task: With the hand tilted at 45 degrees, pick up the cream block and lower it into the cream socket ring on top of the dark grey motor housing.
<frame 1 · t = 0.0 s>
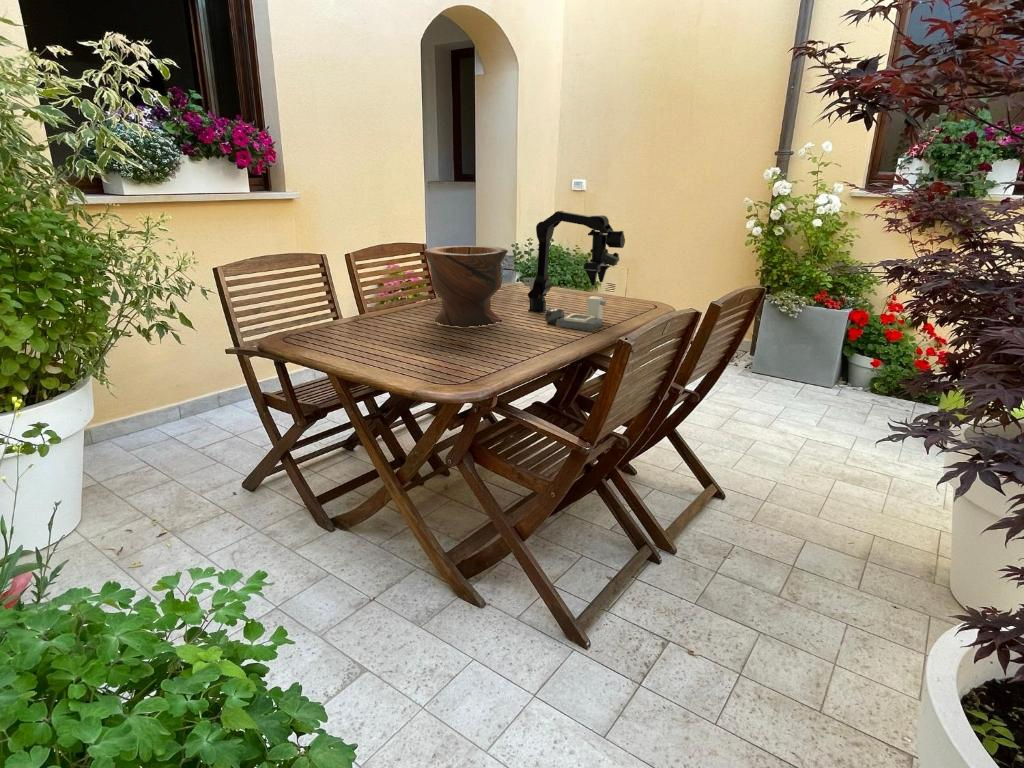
hand: (597, 283, 260), 15 cm above the table, tool pointing down, fingers open, 9 cm apart
mechanical component: (532, 298, 305), on the table
wooden planter: (467, 320, 260), on the table
motor housing: (579, 326, 250), on the table
cream block: (594, 321, 259), on the table
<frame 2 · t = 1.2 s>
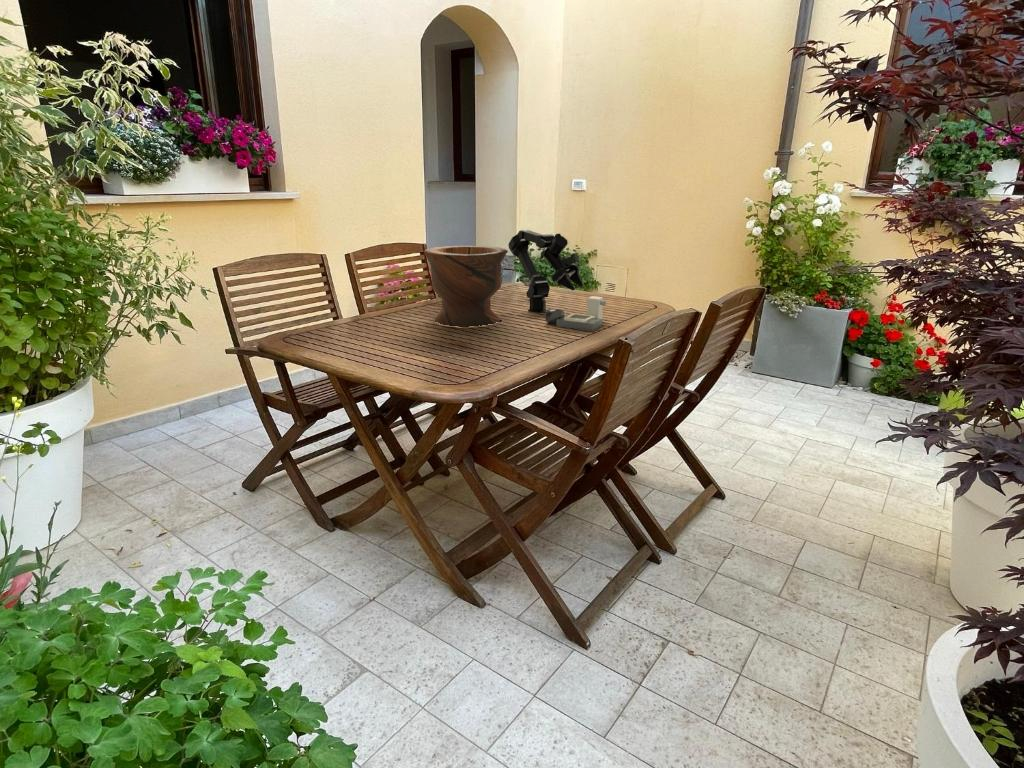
hand: (578, 288, 258), 13 cm above the table, tool tilted 45°, fingers open, 9 cm apart
nothing on the table moved.
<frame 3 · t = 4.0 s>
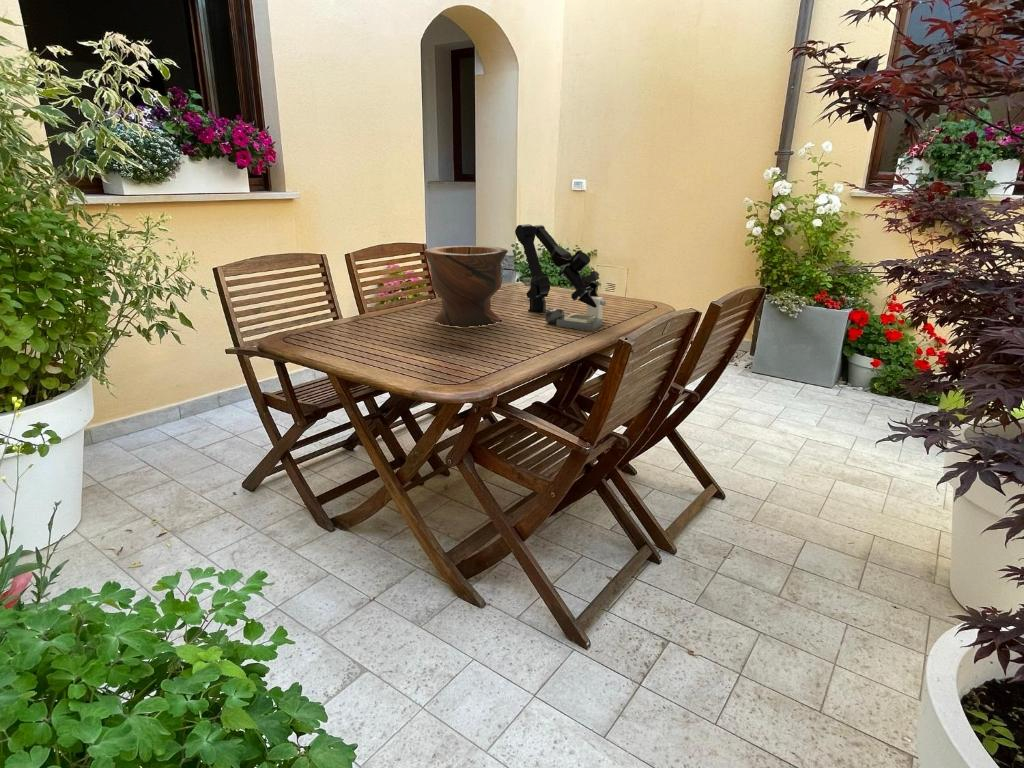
hand: (598, 305, 256), 7 cm above the table, tool tilted 45°, fingers closed on cream block, 5 cm apart
cream block: (594, 320, 259), on the table, touching gripper
everything else where it was.
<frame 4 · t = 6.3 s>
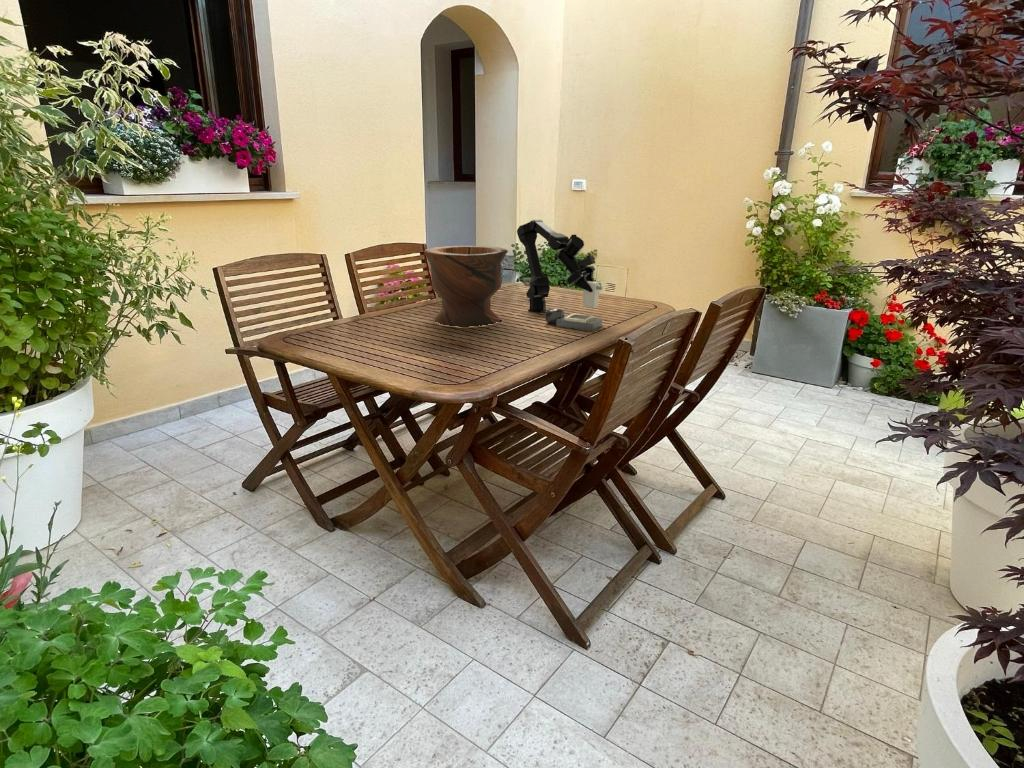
hand: (594, 290, 251), 14 cm above the table, tool tilted 45°, fingers closed on cream block, 5 cm apart
cream block: (590, 306, 254), point 7 cm above the table, touching gripper
everything else where it was.
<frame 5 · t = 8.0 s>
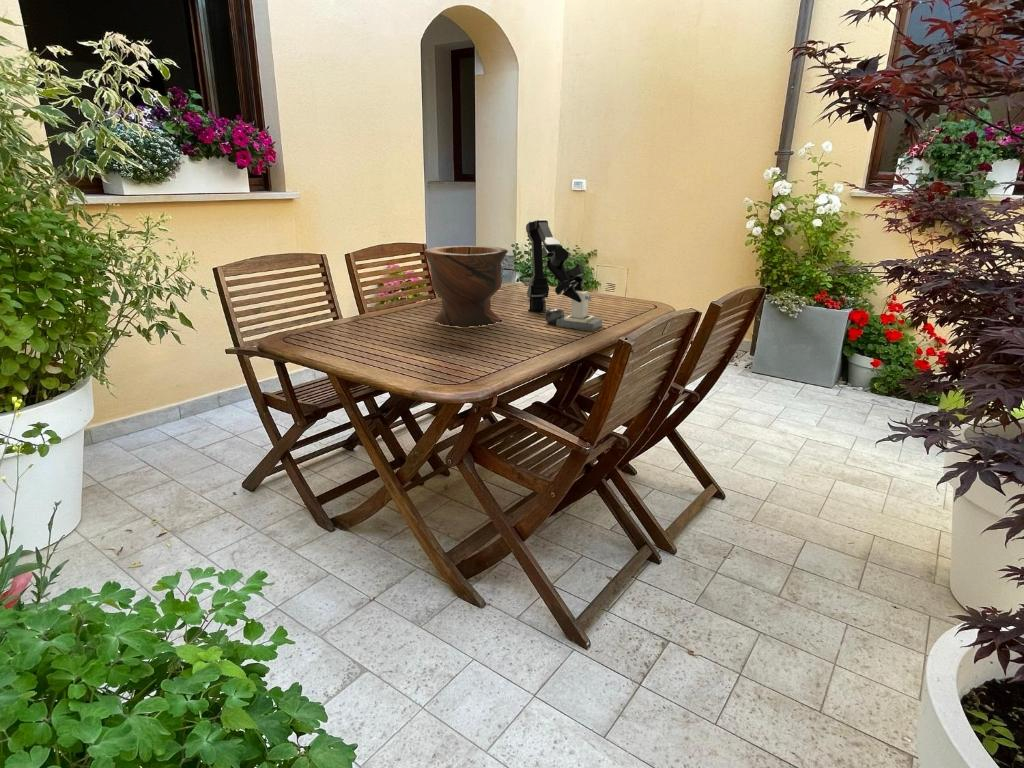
hand: (583, 300, 246), 11 cm above the table, tool tilted 45°, fingers closed on cream block, 5 cm apart
cream block: (579, 316, 249), point 4 cm above the table, touching gripper
everything else where it was.
when the fingers open (10 cm above the table, at t = 9.0 s): cream block stays where it is, resting on motor housing.
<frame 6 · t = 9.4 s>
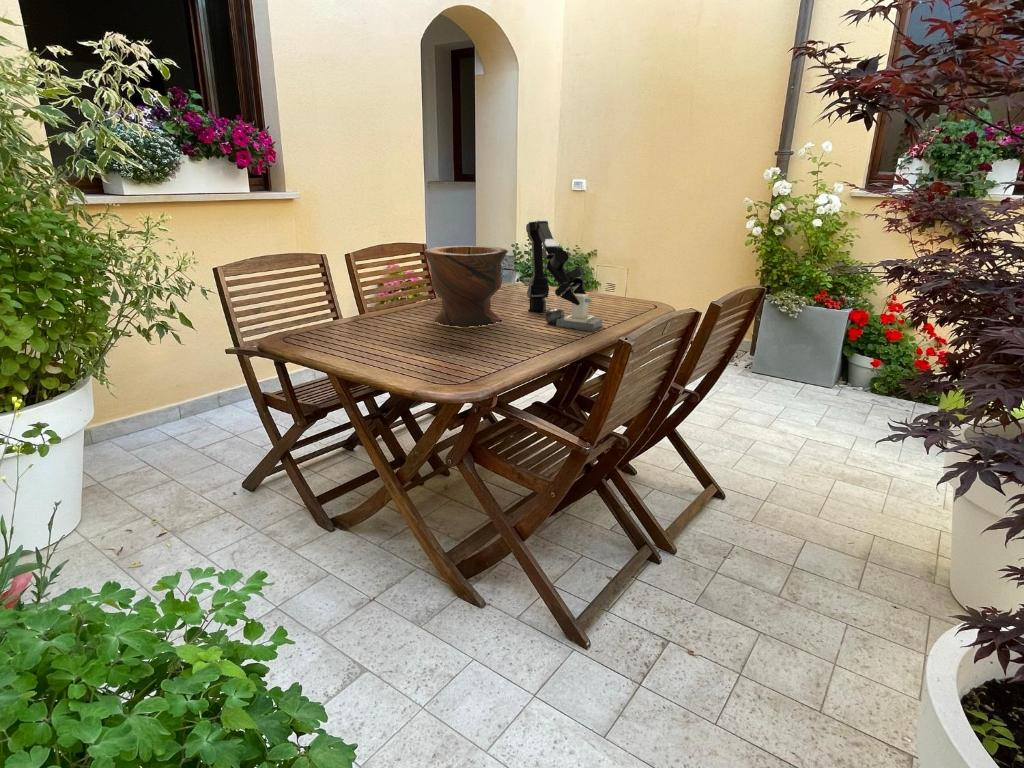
hand: (583, 302, 246), 10 cm above the table, tool tilted 45°, fingers open, 9 cm apart
cream block: (579, 319, 249), point 3 cm above the table, touching motor housing
everything else where it was.
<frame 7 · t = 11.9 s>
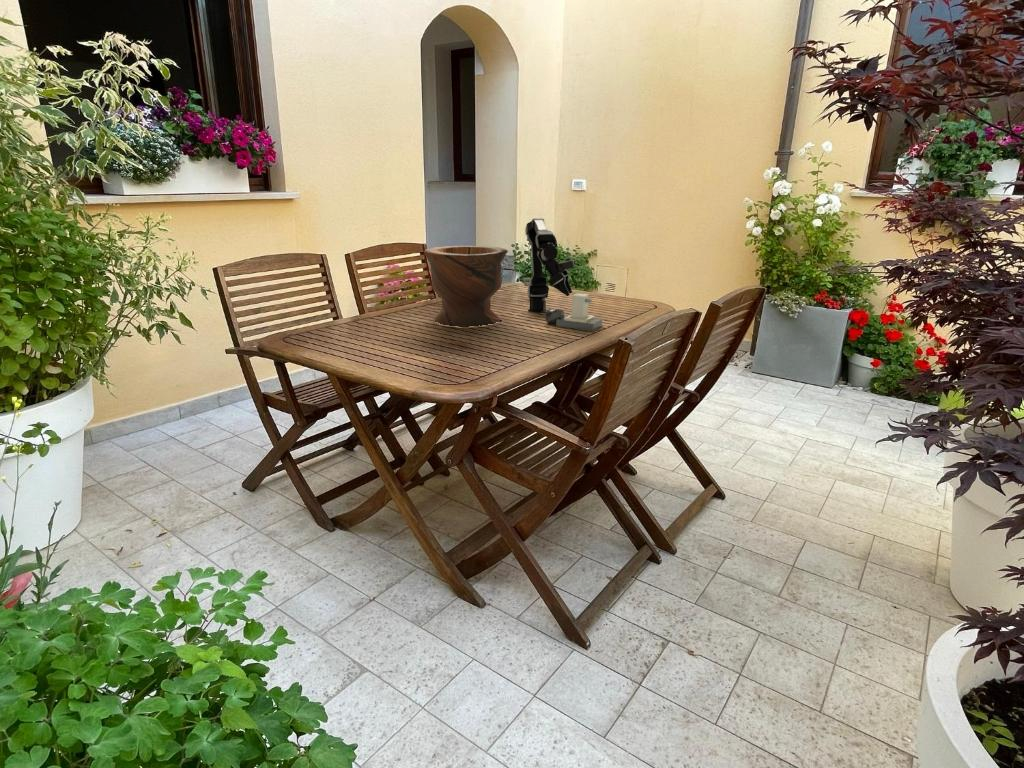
hand: (569, 294, 253), 12 cm above the table, tool tilted 35°, fingers open, 9 cm apart
nothing on the table moved.
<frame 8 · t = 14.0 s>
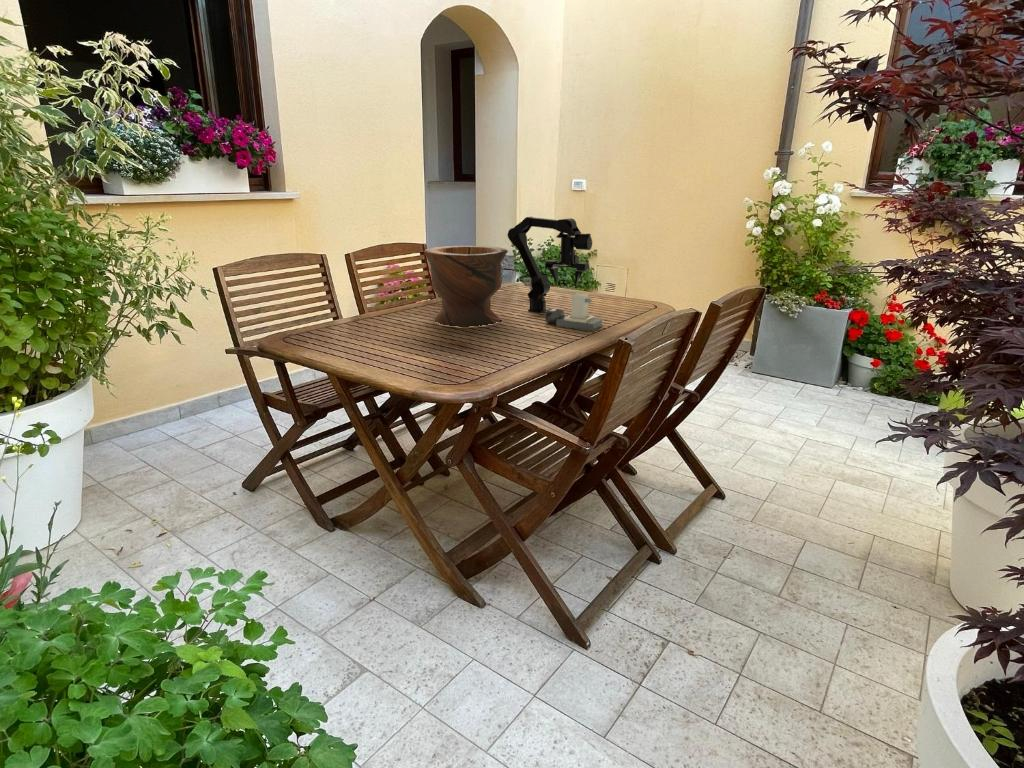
hand: (566, 285, 267), 13 cm above the table, tool pointing down, fingers open, 9 cm apart
nothing on the table moved.
at the end: cream block 0.1 cm off-centre on the motor housing, point 3.0 cm above the motor housing's base; cream block tilted 0°; the gripper is holding nothing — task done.
